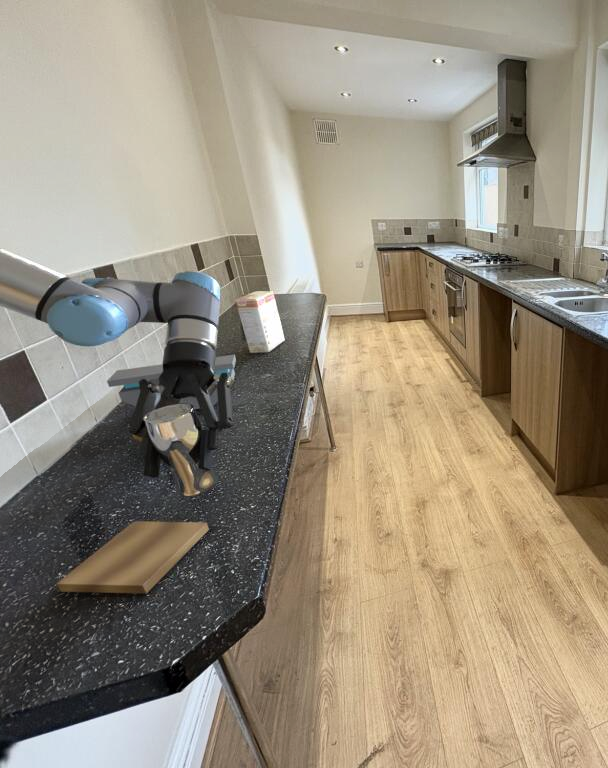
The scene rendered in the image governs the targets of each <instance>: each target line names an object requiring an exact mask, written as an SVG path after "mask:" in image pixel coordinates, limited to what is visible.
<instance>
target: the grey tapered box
mask: <svg viewBox="0 0 608 768" xmlns="http://www.w3.org/2000/svg"><path fill="white" fill-rule="evenodd" d="M236 362H237V359H236V354H228V355H221V356H216V360H215V369H214V372H215V374H222V373H227V374H228V375H229V376H230V377H231V378H232V379H233V383H232V385H233V384H234V381H235V376H236V372H235V365H236ZM162 372H163V363H162V364H154V365H146V366H139V367H130V368H125V369H124V368H123V369H118V370H115V372H114V373H113V374H112V375H111V376H110V377H108V379H107V380H106V383H107V385H108V388H112V387H119V386H123V387H122V388H121V389H120V390H119V391H118V395H119V399H120V400H121V402H123V403H126V404H128V405H131V406H133V407H136V404H137V401H138V398H139V394H140V387H139V381H140V380H141V379H146V380H148V381H149V380H153V379H157V378H159V376H160V375H161V373H162ZM163 390H164V387H163V385H161V386H160V387H159V392H156V393H157V396H156V401H155V404H154V408H153V410H155V408H156V406H157V404H158V403H159V401H160V399H161V393H162V392H163ZM207 390H208V393H209V396H210V400H211V403H212V406H213V407H214V406H215V405H216V404H217V403H218V394H217V384H216V383H215V381H214V382H213V384H212V385H211V386H210V387H209V388H208V389H207ZM172 396H173V395H172ZM182 403H186V404H191V405H193V406H194V409H195V410H199V409H200V407H199V404H198V401H197V399H196V397H187V398H181V400H180V402H179V403H178V404H182ZM200 410H201V409H200Z"/></svg>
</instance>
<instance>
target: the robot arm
mask: <svg viewBox="0 0 608 768" xmlns="http://www.w3.org/2000/svg"><path fill="white" fill-rule="evenodd" d="M221 304H222V302H221V286H220V284H219V283H218V281H217V280H216V279H215V278H213V277H212V276H210V275H209V274H206V273H203V272H200V271H195V270H186V271H184V272H183V271H180V272H178V273H176V274H175V275H174V276H173V279H172V280H171V282H165V281H163V282H158V281H157V282H156V281H143V280H133V279H132V280H131V279H122V278H121V279H120V278H114V277H103V278H102V277H87V278H85V279H83V280H82V281H81V282H80V281H78V280H75V279H74V278H71V277H68V276H67V275H64V274H62V273H60V272H57V271H55V270H53V269H51V268H48V267H46V266H44V265H41V264H39V263H37V262H33V261H31V260H29V259H27V258H25V257H22V256H20V255H17V254H15V253H13V252H10V251H8V250H7V249H6V250H5V249H3V248H0V307H2V308H5V309H8V310H10V311H13V312H15V313H18V314H21V315H23V316H27V317H28V318H32V319H35V320H37V321H40V322H43V323H45V324H47V326H48V327H49V329H50V330H51V331H52V332H53V333H54V334H55V335H56V337H59V339H61V340H62V341H64V342H66V343H69V344H71V345H75V346H79V347H98V346H101V345H104V344H107V343H109V342H112V341H114V340H116V339H118V338H120V337H121V336H122V335H123V334H125V333H126V331H128V330H129V329H131V328H133V327H135V326H137V325H138V324H140V323H157V324H158V323H159V324H167V327H166V332H165V333H166V334H165V340H164V345H165V347H164V349H163V357H162V364H163V372H162V373H161V375H160V376H159V378H157V379H153V380H149V381H148V380H146V379H141V380H140V381H139V387H140V394H139V398H138V401H137V404H136V406H135V407H134V412H133V415H132V418H131V421H130V425H129V429H128V433H129V434H131V435H132V436H133V435H136V436H138V437H142V441H141V444H140V446H141V447H140V453H139V454H140V456H141V457H143V458H144V466H143V473H142V474H143V476H146V477H149V478H152V479H156V478H159V477H160V469H161V461H162V459H161V458H160V456H159V455H158V453H157V452H156V450H155V448H154V446H153V444H152V442H151V440H150V437H149V434H148V431H147V428H146V424H145V421H144V416H145V415H146V414H148V413H149V412H151V411H153V408H154V404H155V401H156V396H157V393H156V392H159V387H160V386H161V385H163V387H164V390H163V392H162V393H160V394H161V399H160V401H159V403H158V404H157V406H156V408H155V410H156V409H158V408H161V407H164V406H168V405H173V404H178V403H179V402H180V400H181V398H187V397H196V399H197V401H198V404H199V407H200V412H201V414H202V417H203V419H204V422H205V428H207V429H204V430H202V433H201V444H200V455H199V467H198V468H200V469H203V470H205V471H210V470H211V469H213V468H212V466H213V457H214V455H213V453H214V451H215V450H218V449H219V448H220V440H221V439H220V437H221V432H222V431H223V430H226V429H230V428H232V427H233V426H234V418H233V417H234V416H233V406H232V404H233V403H232V394H231V392H232V391H231V388H232V387H233V384H234V381H233V379H232V378H231V377H230V376H229V375H228V374H227V373H222V374H215V372H214V369H215V360H216V357H217V353H216V350H217V343H218V333H219V331H218V330H219V319H220V309H221ZM214 381H215V383H216V384H217V394H218V401H217V406H218V416H217V414H216V413H217V412H216V410H215V408H214V406H212V403H211V400H210V396H209V393H208V390H207V389H208V388H209V387H210V386H213V385H214V384H213V382H214ZM232 383H233V384H232ZM212 384H213V385H212ZM172 395H173V396H172Z"/></svg>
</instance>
